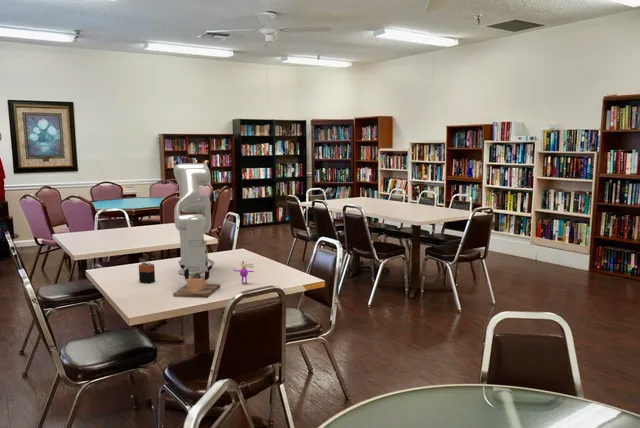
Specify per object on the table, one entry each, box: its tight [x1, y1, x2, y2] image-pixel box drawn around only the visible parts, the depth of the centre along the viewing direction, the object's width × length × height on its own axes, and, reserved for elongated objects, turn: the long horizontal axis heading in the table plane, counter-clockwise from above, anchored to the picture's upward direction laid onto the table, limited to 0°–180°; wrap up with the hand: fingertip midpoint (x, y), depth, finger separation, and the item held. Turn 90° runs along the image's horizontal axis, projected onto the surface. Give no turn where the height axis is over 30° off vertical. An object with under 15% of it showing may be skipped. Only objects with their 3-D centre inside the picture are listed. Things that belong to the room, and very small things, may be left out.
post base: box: [172, 273, 221, 299], centre depth 235 cm, size 18×16×9 cm
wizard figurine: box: [232, 260, 255, 285], centre depth 248 cm, size 11×3×12 cm, turn 77°
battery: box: [138, 261, 156, 285], centre depth 253 cm, size 4×7×10 cm, turn 66°
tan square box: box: [186, 275, 208, 290], centre depth 235 cm, size 7×7×5 cm
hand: (196, 278), depth 235 cm, fingers open, 9 cm apart
